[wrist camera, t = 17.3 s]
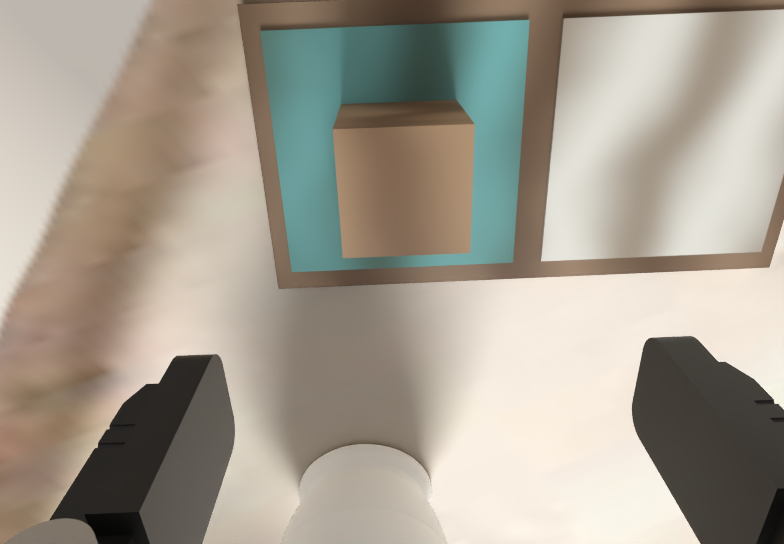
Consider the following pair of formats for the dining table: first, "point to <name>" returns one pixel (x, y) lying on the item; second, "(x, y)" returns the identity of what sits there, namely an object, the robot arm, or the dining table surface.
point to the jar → (365, 500)
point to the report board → (535, 130)
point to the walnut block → (404, 178)
